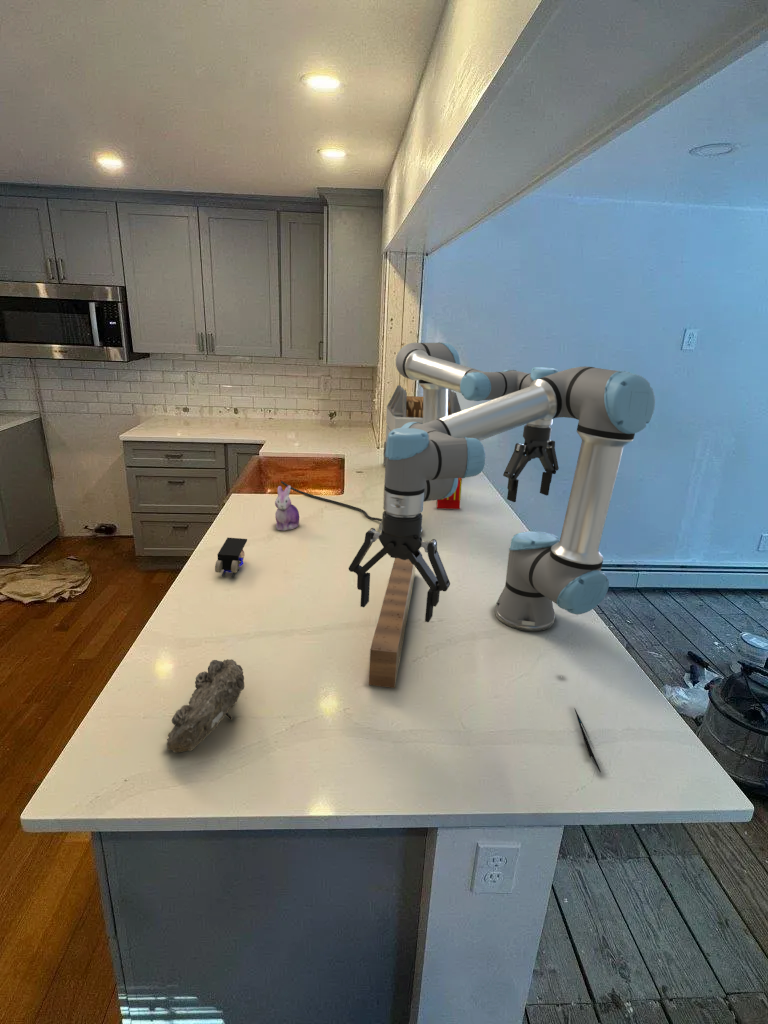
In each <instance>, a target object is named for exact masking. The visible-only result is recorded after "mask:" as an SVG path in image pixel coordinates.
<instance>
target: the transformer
mask: <svg viewBox="0 0 768 1024" xmlns="http://www.w3.org/2000/svg"><path fill="white" fill-rule="evenodd" d="M407 394H408V393H407V390H406V389H404V388H403V387H402V385H399V384H398V385H397V386H396V388H395V390H394V392H393V394H392V395H391V398H390V400H389V402H388V404H387V405H386V413H385V414H386V415H385V423H386V428H385V438H384V442H383V466H384V467H385V460H386V457H385V452H386V444H387V438H388V434H389V432H390V431H392V430H393V429H397V428H401V427H402V426H403V425H404V424H406V423H409V422H420V423H422V424H423V396H415V395H414V396H413V395H412V396H411V395H407ZM459 411H462V408H461V405H460V402H459V398H458V395H457V392H456V391H453V390H450V389H448V415H451V414H453V413H456V412H459Z"/></svg>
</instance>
